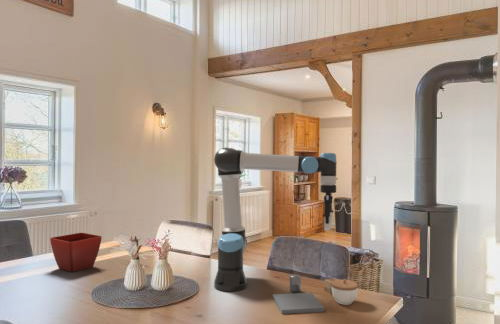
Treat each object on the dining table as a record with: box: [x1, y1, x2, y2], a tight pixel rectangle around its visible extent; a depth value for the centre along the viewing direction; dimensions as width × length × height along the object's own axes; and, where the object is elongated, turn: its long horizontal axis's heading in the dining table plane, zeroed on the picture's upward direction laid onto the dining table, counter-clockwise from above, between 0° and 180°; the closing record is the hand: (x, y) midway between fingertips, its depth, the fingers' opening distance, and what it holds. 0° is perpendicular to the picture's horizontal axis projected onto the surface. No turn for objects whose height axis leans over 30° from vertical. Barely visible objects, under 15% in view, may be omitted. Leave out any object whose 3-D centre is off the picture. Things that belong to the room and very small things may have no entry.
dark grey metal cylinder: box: [289, 273, 302, 294], centre depth 172 cm, size 5×5×7 cm
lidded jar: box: [331, 278, 359, 306], centre depth 159 cm, size 11×11×9 cm
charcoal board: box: [272, 292, 325, 315], centre depth 156 cm, size 17×17×2 cm
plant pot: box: [49, 232, 102, 273], centre depth 208 cm, size 19×19×17 cm
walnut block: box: [323, 278, 339, 295], centre depth 172 cm, size 6×5×5 cm
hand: (328, 227), depth 188 cm, fingers open, 13 cm apart
